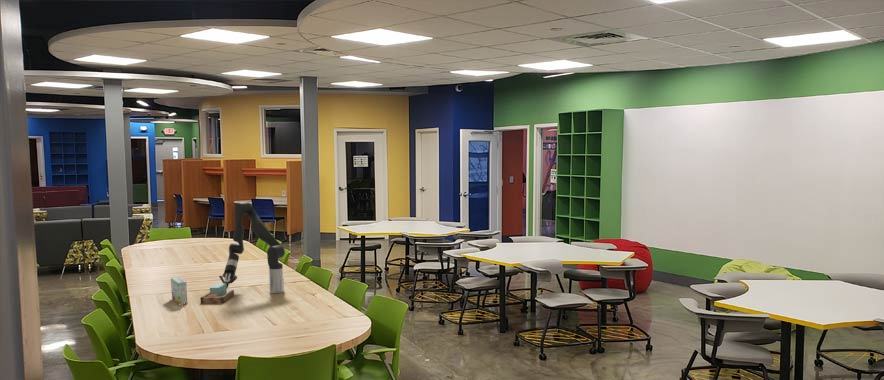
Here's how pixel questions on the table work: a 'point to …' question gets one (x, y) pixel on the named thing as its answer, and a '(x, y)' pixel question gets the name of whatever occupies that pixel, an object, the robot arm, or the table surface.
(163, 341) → the table surface
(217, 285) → the block
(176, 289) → the snack box
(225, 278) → the robot arm
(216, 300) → the brown u-shaped block
